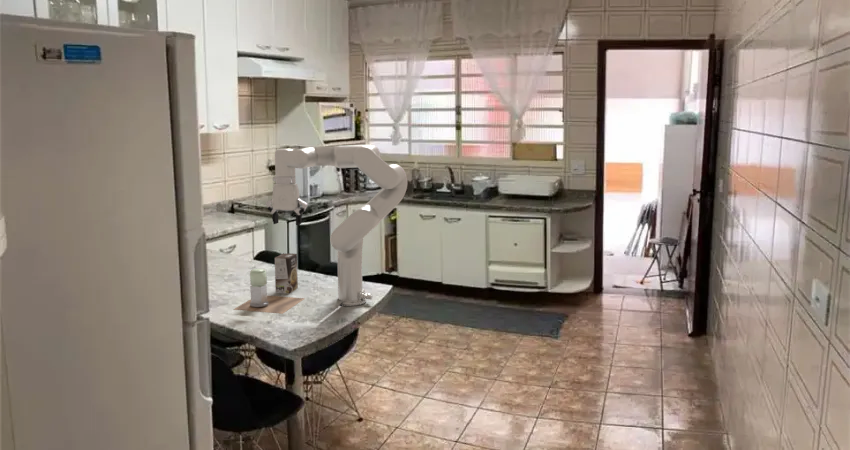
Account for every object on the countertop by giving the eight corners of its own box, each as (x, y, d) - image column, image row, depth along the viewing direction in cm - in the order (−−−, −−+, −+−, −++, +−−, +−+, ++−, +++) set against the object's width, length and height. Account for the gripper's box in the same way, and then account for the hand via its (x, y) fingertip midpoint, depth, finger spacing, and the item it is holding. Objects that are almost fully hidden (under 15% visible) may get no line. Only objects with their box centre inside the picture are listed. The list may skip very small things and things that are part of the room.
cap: (250, 283, 263) (249, 268, 262) (266, 282, 264) (266, 267, 263) (250, 287, 257) (249, 272, 256) (267, 286, 259) (266, 271, 258)
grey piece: (271, 303, 265) (270, 283, 263) (263, 308, 258) (262, 288, 257) (255, 302, 266) (254, 282, 265) (246, 307, 260) (245, 286, 258)
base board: (305, 302, 272) (305, 298, 271) (282, 317, 253) (282, 313, 252) (258, 298, 276) (258, 294, 276) (233, 313, 257) (233, 309, 257)
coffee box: (290, 297, 278) (288, 258, 275) (275, 296, 279) (273, 257, 276) (298, 291, 287) (297, 253, 284) (284, 290, 288) (282, 252, 285)
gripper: (260, 181, 266) (262, 224, 269) (302, 182, 262) (303, 226, 265) (269, 178, 273) (271, 221, 277) (310, 180, 269) (311, 223, 272)
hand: (287, 224), depth 271 cm, fingers open, 9 cm apart
